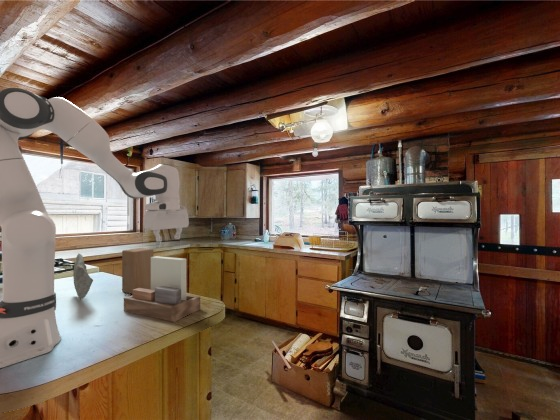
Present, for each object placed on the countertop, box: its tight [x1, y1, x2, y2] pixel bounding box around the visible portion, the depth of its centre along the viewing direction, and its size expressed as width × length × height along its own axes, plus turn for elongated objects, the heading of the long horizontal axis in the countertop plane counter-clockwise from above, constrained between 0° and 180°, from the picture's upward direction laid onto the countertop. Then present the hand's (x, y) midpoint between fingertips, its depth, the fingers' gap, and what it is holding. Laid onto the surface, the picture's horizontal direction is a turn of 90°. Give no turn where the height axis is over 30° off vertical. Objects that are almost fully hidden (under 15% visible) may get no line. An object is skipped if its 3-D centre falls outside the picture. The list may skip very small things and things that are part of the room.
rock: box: [72, 253, 94, 301], centre depth 122 cm, size 27×6×20 cm, turn 42°
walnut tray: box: [123, 293, 201, 323], centre depth 109 cm, size 14×26×5 cm, turn 66°
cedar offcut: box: [132, 288, 155, 302], centre depth 109 cm, size 3×10×8 cm, turn 66°
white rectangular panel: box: [151, 255, 187, 300], centre depth 112 cm, size 3×16×20 cm, turn 66°
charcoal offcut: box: [155, 286, 181, 306], centre depth 104 cm, size 3×10×10 cm, turn 66°
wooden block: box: [121, 247, 154, 295], centre depth 136 cm, size 10×10×20 cm
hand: (168, 240), depth 112 cm, fingers open, 8 cm apart
